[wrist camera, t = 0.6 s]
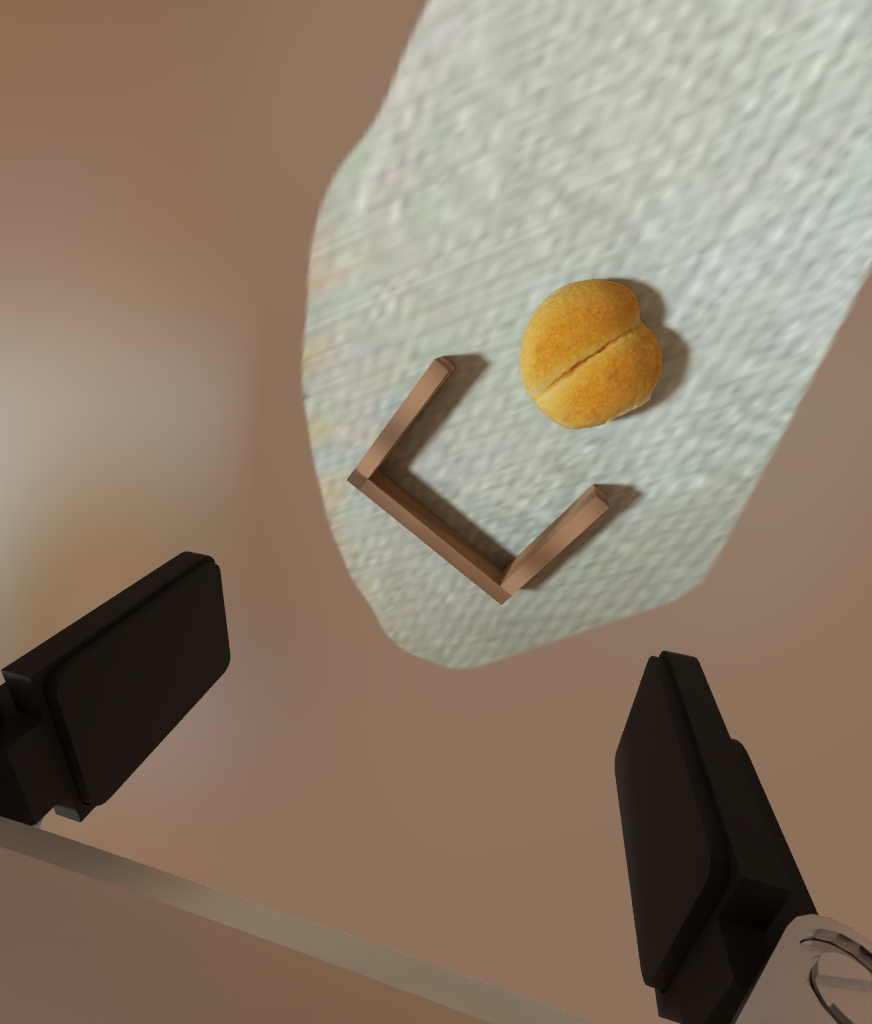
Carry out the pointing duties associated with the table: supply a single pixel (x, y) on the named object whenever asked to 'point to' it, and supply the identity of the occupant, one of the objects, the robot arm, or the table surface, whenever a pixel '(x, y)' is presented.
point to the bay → (438, 532)
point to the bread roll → (589, 354)
